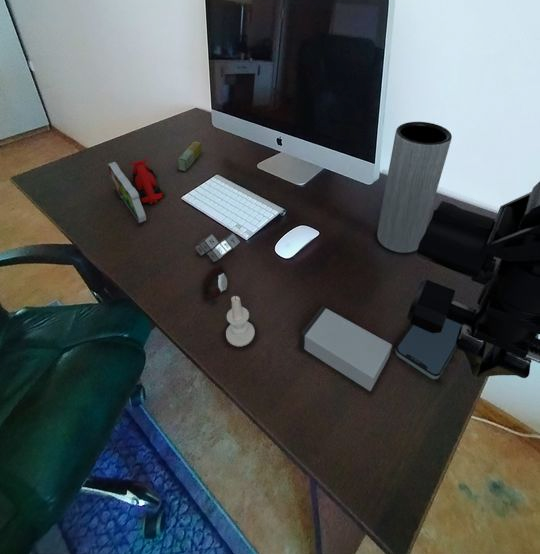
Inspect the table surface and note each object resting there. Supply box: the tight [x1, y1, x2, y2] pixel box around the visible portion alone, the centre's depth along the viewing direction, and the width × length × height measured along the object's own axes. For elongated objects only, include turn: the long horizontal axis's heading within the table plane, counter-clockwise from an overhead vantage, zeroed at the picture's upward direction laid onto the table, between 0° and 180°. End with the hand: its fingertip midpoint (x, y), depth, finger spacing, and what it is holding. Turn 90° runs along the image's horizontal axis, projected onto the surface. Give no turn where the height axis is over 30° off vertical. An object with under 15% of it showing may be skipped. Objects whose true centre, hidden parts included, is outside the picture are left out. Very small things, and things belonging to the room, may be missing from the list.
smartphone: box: [394, 318, 461, 380], centre depth 64 cm, size 8×2×15 cm
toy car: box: [129, 158, 163, 205], centre depth 105 cm, size 6×18×5 cm, turn 26°
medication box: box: [177, 141, 202, 172], centre depth 117 cm, size 12×3×4 cm, turn 165°
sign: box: [107, 161, 147, 224], centre depth 98 cm, size 22×2×10 cm, turn 36°
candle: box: [225, 295, 256, 347], centre depth 64 cm, size 5×5×10 cm
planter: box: [376, 121, 453, 254], centre depth 78 cm, size 10×10×27 cm
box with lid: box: [300, 305, 393, 392], centre depth 62 cm, size 4×7×13 cm
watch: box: [202, 266, 228, 301], centre depth 75 cm, size 8×5×4 cm, turn 172°
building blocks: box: [193, 232, 241, 263], centre depth 82 cm, size 5×5×8 cm
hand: (476, 372), depth 46 cm, fingers closed
